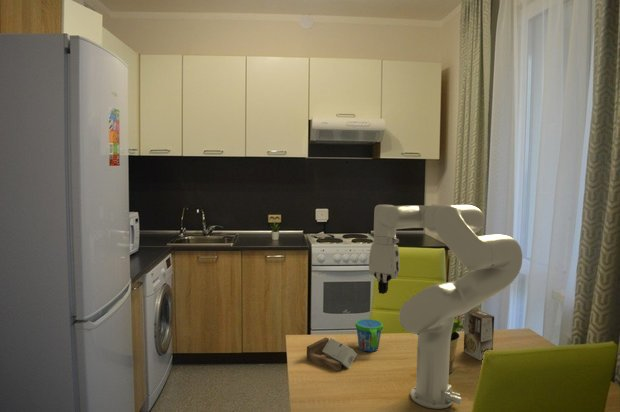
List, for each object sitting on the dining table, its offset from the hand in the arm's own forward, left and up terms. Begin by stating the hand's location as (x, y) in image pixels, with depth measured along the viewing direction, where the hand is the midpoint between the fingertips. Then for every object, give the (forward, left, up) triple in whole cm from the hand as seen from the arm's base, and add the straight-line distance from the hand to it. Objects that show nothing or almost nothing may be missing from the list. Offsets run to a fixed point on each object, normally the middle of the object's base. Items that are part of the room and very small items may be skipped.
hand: (382, 292), depth 149 cm
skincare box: (+8, +7, -24) cm, 26 cm away
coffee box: (-23, -34, -27) cm, 49 cm away
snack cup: (+12, -12, -27) cm, 32 cm away
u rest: (+16, +6, -27) cm, 32 cm away
